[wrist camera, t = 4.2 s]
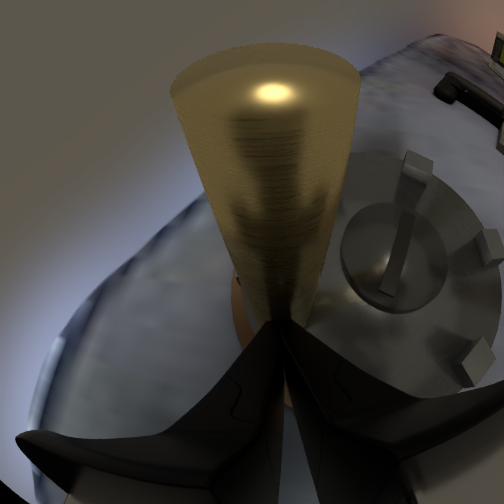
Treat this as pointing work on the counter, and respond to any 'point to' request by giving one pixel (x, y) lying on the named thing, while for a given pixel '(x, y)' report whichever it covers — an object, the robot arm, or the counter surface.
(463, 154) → the counter surface
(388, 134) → the counter surface
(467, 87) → the door handle
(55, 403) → the counter surface
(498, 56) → the tea box
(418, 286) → the ring nut
